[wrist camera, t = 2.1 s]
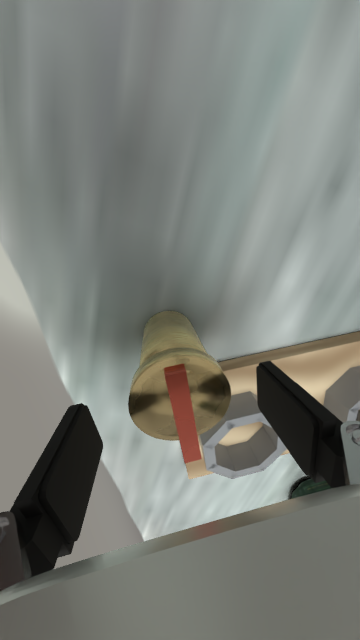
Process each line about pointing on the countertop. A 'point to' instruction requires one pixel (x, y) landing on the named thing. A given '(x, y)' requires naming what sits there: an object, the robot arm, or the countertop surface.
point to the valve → (177, 384)
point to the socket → (245, 454)
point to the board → (300, 365)
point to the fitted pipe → (345, 396)
